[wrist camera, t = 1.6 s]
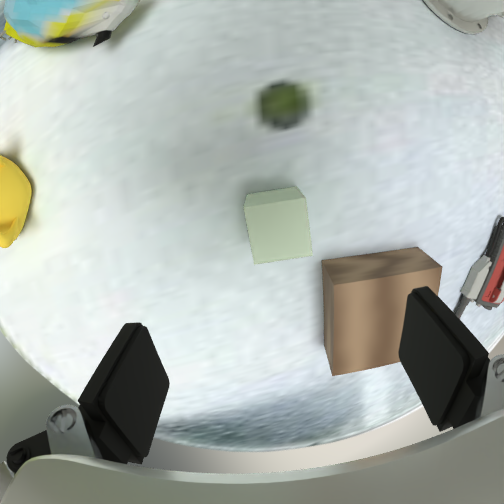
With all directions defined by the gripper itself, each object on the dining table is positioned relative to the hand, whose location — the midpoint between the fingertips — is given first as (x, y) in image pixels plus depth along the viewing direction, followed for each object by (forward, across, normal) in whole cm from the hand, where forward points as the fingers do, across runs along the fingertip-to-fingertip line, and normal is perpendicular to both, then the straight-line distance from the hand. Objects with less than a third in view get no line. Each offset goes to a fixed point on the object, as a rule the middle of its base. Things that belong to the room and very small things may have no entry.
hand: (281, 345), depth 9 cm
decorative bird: (+21, +17, -33) cm, 43 cm away
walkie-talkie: (+21, -30, +14) cm, 40 cm away
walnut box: (+21, -11, +12) cm, 27 cm away
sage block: (+21, -1, +1) cm, 21 cm away
